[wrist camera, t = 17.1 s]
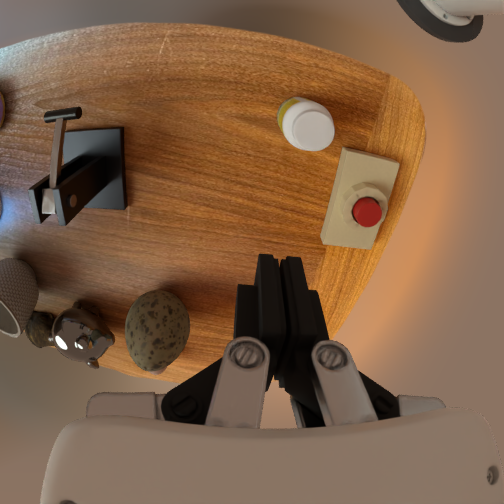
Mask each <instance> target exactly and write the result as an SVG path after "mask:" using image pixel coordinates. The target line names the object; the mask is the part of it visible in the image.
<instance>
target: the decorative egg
mask: <svg viewBox="0 0 504 504" xmlns="http://www.w3.org/2000/svg"><path fill="white" fill-rule="evenodd" d="M189 332H190V319H189V314H188V311H187V309H186V307H185V305H184V304H183V302H182V301H181V300H180V299H179V298H178V297H177V296H175V295H174V294H172V293H170V292H167V291H163V290H154V291H150V292H147V293H145V294H143V295H141V296H140V297H139V298H138V299H137V300H136V301H135V302H134V303H133V304H132V306H131V308H130V310H129V312H128V315H127V318H126V323H125V338H126V344H127V348H128V351H129V353H130V356H131V357H132V359H133V361H134V362H135V363H136V364H137V365H138V366H139V367H140V368H141V369H143V370H145V371H150V372H152V371H158V370H161V369H163V368H165V367H167V366H168V365H170V364H171V363H172V362H173V361H174V360H175V359H176V358H177V357H178V356H179V355H180V353H181V352H182V350H183V349H184V347H185V345H186V343H187V340H188V337H189Z"/></svg>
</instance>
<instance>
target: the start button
mask: <svg viewBox="0 0 504 504" xmlns="http://www.w3.org/2000/svg"><path fill="white" fill-rule="evenodd" d="M353 215H354V217H355V218H356V220H357V222H358V223H359V224H360V225H361V226H363V227H372V226H374V225H376V224H377V223H378V222H379V221H380V219H381V216H382V210H381V208H380V206H379V205H378V204H377V203H376V201H375V200H374V199H372V198H369V197H365V198H362V199H360V200H358V201H357V202H356V204H355V205H354V208H353Z"/></svg>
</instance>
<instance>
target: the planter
mask: <svg viewBox="0 0 504 504" xmlns="http://www.w3.org/2000/svg"><path fill="white" fill-rule="evenodd" d="M38 296H39V289H38V285H37V282H36V275H35V273H34V271H33V269H32V268H31V267H30V266H29V265H28V264H27V263H26V262H24V261H22V260H16V259H13V258H5V259H3V260H1V261H0V331H1V332H3V333H4V334H6V335H8V336H11V337H19V336H20V335H21V334H22V332H23V331H24V329H25V327H26V325H27V323H28V321H29V319H30V317H31V315H32V313H33V310H34V308H35V306H36V303H37V300H38Z"/></svg>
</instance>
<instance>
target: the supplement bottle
mask: <svg viewBox="0 0 504 504" xmlns="http://www.w3.org/2000/svg"><path fill="white" fill-rule="evenodd" d="M277 122H278V125H279V127H280V129H281V131H282V132H283V134H284V136H285V137H286V139H287V140H288V141H289V142H290V143H291V144H292V145H293V146H295V147H297V148H299V149H302V150H309V151H319V150H322V149H324V148H326V147H327V146H329V144H330V143H331V142H332V140H333V138H334V134H335V129H334V124H333V119H332V116H331V114H330V113H329V111H328V110H327V109H326V108H325V107H324V106H322V105H320V104H319V103H316V102H314V101H311V100H309V99H306V98H302V97H293V98H290V99H288V100H286V101H285V102H283V103H282V104H281V106H280V107H279V109H278V112H277Z"/></svg>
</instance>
